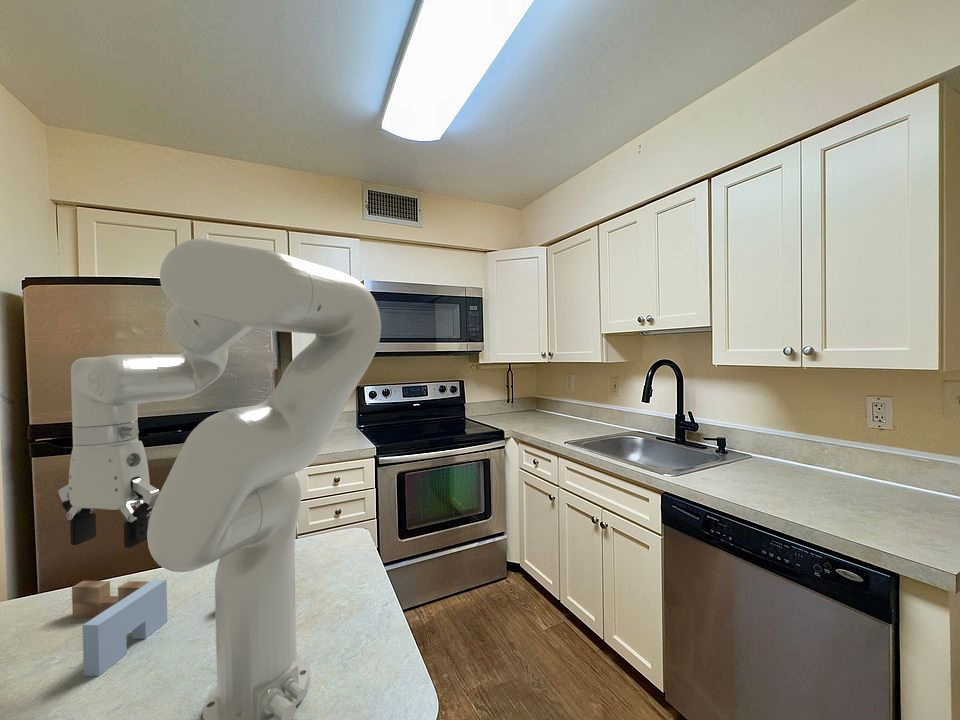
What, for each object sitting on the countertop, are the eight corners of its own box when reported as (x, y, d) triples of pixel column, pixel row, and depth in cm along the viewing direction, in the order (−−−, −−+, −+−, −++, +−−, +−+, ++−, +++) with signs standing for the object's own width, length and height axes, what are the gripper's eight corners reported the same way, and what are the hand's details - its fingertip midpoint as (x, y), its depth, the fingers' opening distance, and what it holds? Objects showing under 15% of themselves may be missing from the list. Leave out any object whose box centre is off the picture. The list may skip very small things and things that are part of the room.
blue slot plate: (154, 621, 71) (153, 579, 71) (167, 621, 70) (166, 579, 70) (83, 675, 59) (82, 625, 59) (99, 675, 58) (97, 625, 58)
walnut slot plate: (155, 611, 74) (155, 581, 73) (146, 618, 72) (145, 587, 71) (84, 610, 74) (83, 580, 74) (72, 617, 72) (71, 587, 72)
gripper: (176, 430, 65) (179, 534, 65) (86, 430, 68) (89, 530, 68) (129, 440, 58) (133, 557, 58) (31, 439, 60) (35, 551, 60)
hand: (109, 542), depth 63 cm, fingers open, 9 cm apart
